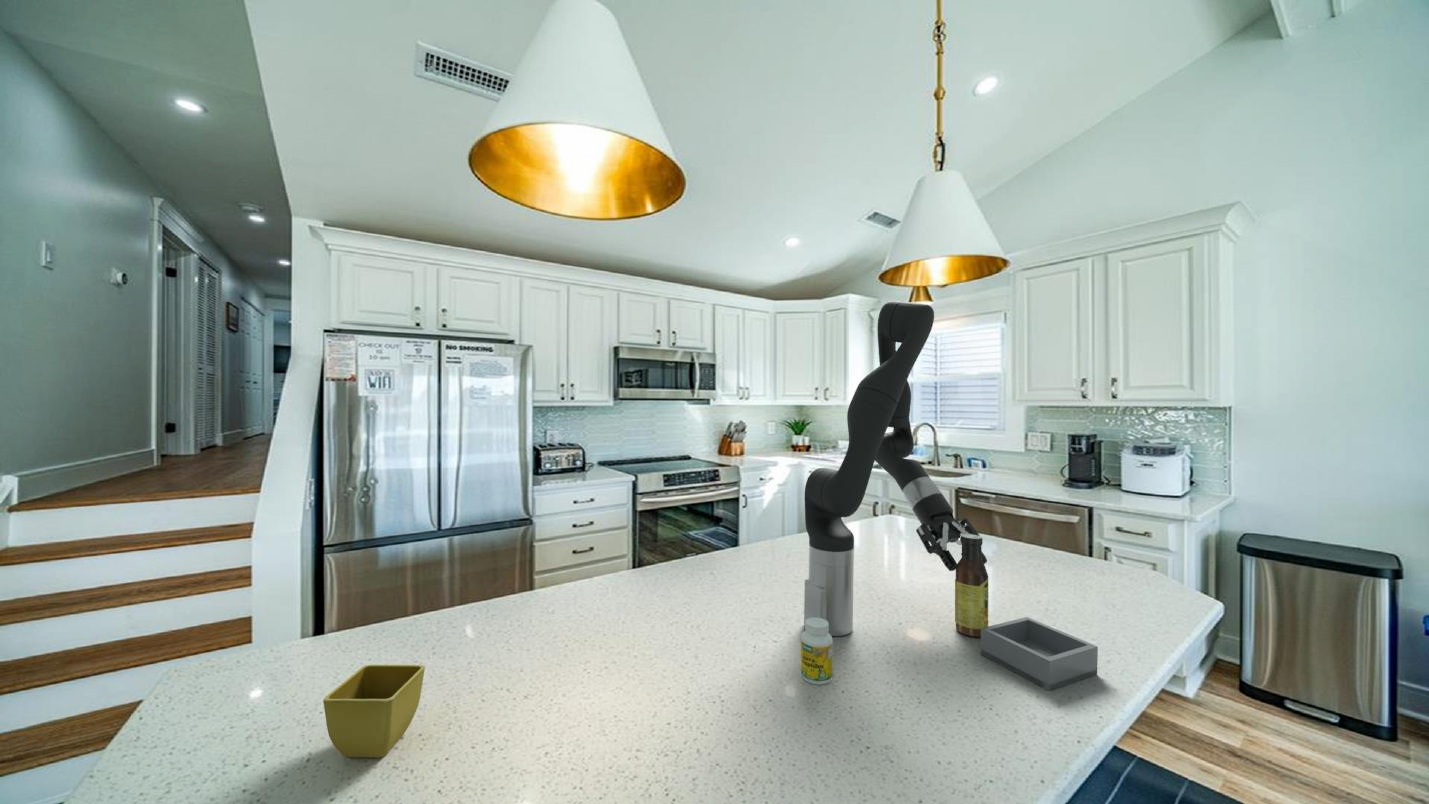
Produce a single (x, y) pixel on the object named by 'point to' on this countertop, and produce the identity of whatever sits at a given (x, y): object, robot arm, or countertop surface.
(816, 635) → the supplement bottle
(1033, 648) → the gray tray
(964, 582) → the sauce bottle
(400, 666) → the flower pot
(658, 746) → the countertop surface
